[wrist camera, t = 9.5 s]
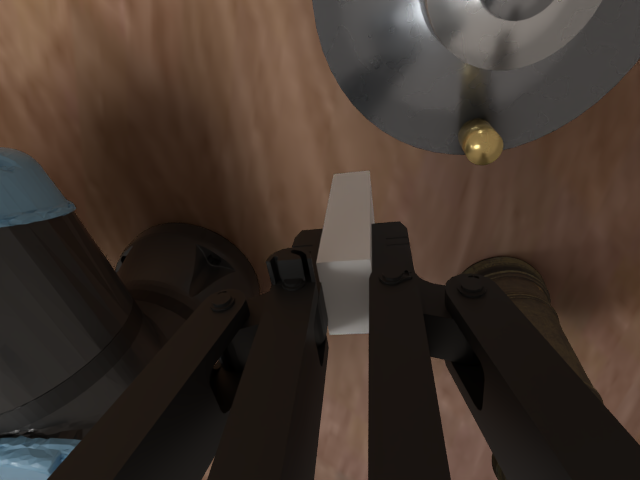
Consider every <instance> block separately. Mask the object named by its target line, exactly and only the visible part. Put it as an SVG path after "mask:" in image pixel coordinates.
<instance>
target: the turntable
mask: <svg viewBox="0 0 640 480" xmlns="http://www.w3.org/2000/svg"><path fill="white" fill-rule="evenodd" d="M312 1H313V9H314V16H315V22H316V28H317V32H318V35H319V39H320V43H321V46H322V50H323V52H324V55H325V57H326V60H327V62H328V64H329V67H330V69H331V72H332V73H333V75H334V77H335V79H336V80H337V82H338V84H339V86H340V87H341V89H342V90H343V92H344V93H345V94H346V96H347V97H348V98H349V100H350V101H351V102H352V104H353V105H354V106H355V107H356V108H357V109H358V110H359V111H360V112H361V113H362V114H363V115H364V116H365V117H366V118H367V119H368V120H369V121H370V122H372V123H373V124H374V125H376V126H377V127H378V128H379V129H381V130H382V131H384V132H385V133H387V134H389V135H390V136H392V137H394V138H396V139H397V140H399V141H402V142H404V143H407V144H409V145H412V146H414V147H417V148H421V149H424V150H428V151H432V152H437V153H445V154H453V155H466V156H467V158H468V160H469V161H470V162H472V163H473V164H476V165H487V164H490V163H492V162H494V161H495V160H496V159H497V158H498V157H499V156H500V154H501V153H502V150H505V149H509V148H513V147H517V146H519V145H522V144H525V143H528V142H531V141H533V140H536V139H538V138H540V137H542V136H544V135H546V134H549V133H551V132H553V131H555V130H557V129H558V128H560V127H562V126H563V125H565V124H567V123H568V122H570V121H572V120H573V119H575V118H577V117H578V116H579V115H581V114H582V113H583V112H585V111H586V110H587V109H589V108H590V107H591V106H593V105H594V104H595V103H597V102H598V101H599V100H600V99H601V98H602V97H603V96H604V95H605V94H607V93H608V92H609V91H610V90H611V89H612V88H613V87H614V86H615V85H616V84H617V83H618V82H619V81H620V80H621V79H622V78H623V77H624V76H625V75H626V74H627V72H628V71H629V70H630V69H631V68H632V67H633V66H634V65H635V64H636V62H637V61H638V60H639V58H640V0H602V2H601V3H600V5H599V7H598V8H597V10H596V12H595V13H594V15H593V16H592V17H591V18H590V20H589V21H588V22H587V24H586V25H585V26H584V27H583V28H582V29H581V30H580V32H579V33H578V34H577V35H576V36H575V37H574V38H573V39H571V40H570V41H569V42H568V43H567V44H566V45H564V46H563V47H562V48H560V49H559V50H558V51H556V52H555V53H553V54H551V55H550V56H548V57H546V58H545V59H543V60H540V61H538V62H536V63H534V64H531V65H528V66H525V67H522V68H517V69H512V70H499V71H497V70H487V69H482V68H478V67H475V66H472V65H470V64H467V63H466V62H464V61H462V60H460V59H459V58H458V57H456V56H455V55H454V54H453V53H451V52H450V51H449V50H448V49H446V48H445V47H444V46H443V45H442V44H440V43H439V42H438V41H437V40H436V38H435V37H434V36H433V35H432V33H431V32H430V30H429V29H428V27H427V25H426V23H425V21H424V18H423V15H422V12H421V8H420V3H419V0H312Z"/></svg>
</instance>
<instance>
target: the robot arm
mask: <svg viewBox="0 0 640 480" xmlns="http://www.w3.org/2000/svg"><path fill="white" fill-rule="evenodd" d="M75 209H76V207H75V205H74V204H73V203H72V202H71V201H69V200H66V199H65V197H64V196H63V195H62V193H61V192H60V191H59V189H58V188H57V187H56V185H55V184H54V183H53V181H52V180H51V179H50V178H49V176H48V175H47V174H46V172H45V171H44V170H43V168H42V167H41V166H40V164H39V163H38V162H37V161H36V160H35V159H33V158H32V157H31V156H29V155H28V154H26V153H24V152H21V151H19V150H16V149H11V148H4V147H0V480H201V479H202V478H203V476H204V474H205V472H206V471H207V469H208V467H209V465H210V464H211V462H212V460H213V458H214V457H215V458H214V461H213V464H212V467H211V470H210V473H209V476H208V479H207V480H314V474H315V465H316V456H317V447H318V438H319V429H320V420H321V411H322V402H323V393H324V384H325V375H326V366H327V357H328V348H329V347H328V341H327V336H326V333H327V325H328V329H329V334H330V335H339V334H366V333H369V428H368V480H451V478H450V472H449V466H448V460H447V454H446V448H445V442H444V436H443V430H442V424H441V418H440V412H439V406H438V400H437V394H436V388H435V382H434V376H433V370H432V364H431V358H430V356H431V357H435V358H439V359H444V360H445V363H446V366H447V368H448V370H449V372H450V374H451V376H452V378H453V379H454V381H455V383H456V385H457V387H458V389H459V391H460V393H461V394H462V396H463V398H464V400H465V402H466V404H467V406H468V408H469V409H470V411H471V413H472V415H473V417H474V419H475V421H476V423H477V424H478V426H479V428H480V430H481V432H482V434H483V436H484V438H485V439H486V441H487V443H488V445H489V447H490V449H491V451H492V453H493V454H494V456H495V458H496V460H497V462H498V464H499V466H500V468H501V469H502V471H503V473H504V475H505V477H506V479H507V480H640V445H639V444H638V443H637V442H636V441H635V439H634V438H633V437H632V436H631V435H630V434H629V433H628V432H627V430H626V429H625V428H624V427H623V426H622V425H621V424H620V423H619V421H618V420H617V419H616V418H615V417H614V416H613V415H612V413H611V412H610V411H609V410H608V409H607V408H606V407H605V406H604V404H603V403H602V402H601V401H600V400H599V399H598V398H597V397H596V395H595V394H594V393H593V392H592V391H591V390H590V389H589V388H588V386H587V385H586V384H585V383H584V382H583V381H582V380H581V378H580V377H579V376H578V375H577V374H576V373H575V372H574V371H573V369H572V368H571V367H570V366H569V365H568V364H567V363H566V362H565V360H564V359H563V358H562V357H561V356H560V355H559V354H558V352H557V351H556V350H555V349H554V348H553V347H552V346H551V345H550V343H549V342H548V341H547V340H546V339H545V338H544V337H543V336H542V334H541V333H540V332H539V331H538V330H537V329H536V328H535V326H534V325H533V324H532V323H531V322H530V321H529V320H528V319H527V317H526V316H525V315H524V314H523V313H522V312H521V311H520V310H519V308H518V307H517V306H516V305H515V304H514V303H513V302H512V301H511V299H510V298H509V297H508V296H507V295H506V294H505V293H504V291H503V290H502V289H501V288H500V287H499V286H498V285H497V284H496V283H495V282H494V281H493V280H491V279H490V278H488V277H485V276H482V275H478V274H471V273H470V274H460V275H457V276H454V277H452V278H451V279H450V280H448V281H447V283H446V286H445V285H438V284H433V283H429V282H427V281H424V280H423V279H421V278H420V277H418V276H417V274H416V273H415V271H414V268H413V262H412V256H411V250H410V244H409V238H408V232H407V228H406V227H405V226H404V225H403V224H402V223H401V222H387V223H375V222H374V211H373V201H372V190H371V179H370V170H369V171H359V172H350V173H340V174H334V175H333V180H332V185H331V190H330V195H329V200H328V206H327V211H326V216H325V221H324V226H323V229H314V230H302V231H301V232H300V233H299V234H298V235H297V236H296V237H295V239H294V242H293V245H292V248H287V249H282V250H280V251H277V252H275V253H274V254H272V255H271V256H270V257H269V258H268V259H267V261H266V264H267V268H268V272H269V275H270V279H271V283H272V286H271V289H270V291H269V292H267V293H265V294H262V295H259V285H258V280H257V277H256V274H255V272H254V270H253V268H252V266H251V264H250V263H249V261H248V260H247V259H246V257H245V256H244V255H243V254H242V253H241V252H240V251H239V250H238V249H237V248H236V247H235V246H234V245H233V244H232V243H230V242H229V241H228V240H226V239H225V238H223V237H221V236H220V235H218V234H216V233H214V232H212V231H210V230H207V229H205V228H201V227H198V226H194V225H190V224H182V223H169V224H162V225H157V226H154V227H152V228H149V229H147V230H145V231H144V232H142V233H141V234H140V235H139V236H137V237H136V238H135V240H134V241H133V242H132V243H131V244H130V245H129V246H128V247H127V248H126V249H125V250H124V252H123V253H122V255H121V256H120V258H119V260H118V263H117V266H116V270H114V269H113V268H112V266H111V265H110V263H109V262H108V260H107V259H106V257H105V256H104V254H103V253H102V252H101V250H100V249H99V247H98V246H97V244H96V243H95V241H94V240H93V238H92V237H91V236H90V234H89V233H88V231H87V230H86V228H85V227H84V225H83V224H82V223H81V221H80V220H79V218H78V217H77V215H76V214H75V212H74V210H75ZM218 359H219V360H218ZM217 361H218V362H217ZM216 362H217V363H216ZM215 364H216V365H215Z"/></svg>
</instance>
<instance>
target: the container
mask: <svg viewBox="0 0 640 480" xmlns="http://www.w3.org/2000/svg"><path fill="white" fill-rule="evenodd" d="M470 273H471V274H478V275H482V276H485V277H488V278H490V279H491V280H493V281H494V282H495V283H496V284H497V285H498V286H499V287H500V288H501V289H502V290H503V291H504V293H505V294H506V295H507V296H508V297H509V298H510V299H511V301H512V302H513V303H514V304H515V305H516V306H517V307H518V308H519V310H520V311H521V312H522V313H523V314H524V315H525V316H526V317H527V319H528V320H529V321H530V322H531V323H532V324H533V325H534V326H535V328H536V329H537V330H538V331H539V332H540V333H541V334H542V336H543V337H544V338H545V339H546V340H547V341H548V342H549V343H550V345H551V346H552V347H553V348H554V349H555V350H556V351H557V352H558V354H559V355H560V356H561V357H562V358H563V359H564V360H565V362H566V363H567V364H568V365H569V366H570V367H571V368H572V369H573V371H574V372H575V373H576V374H577V375H578V376H579V377H580V378H581V380H582V381H583V382H584V383H585V384H586V385H587V386H588V388H589V389H590V390H591V391H592V392H593V393H594V394H595V395H596V397H597V398H598V399H599V400H600V401H601V402H602V403H603V400H602V398H601V396H600V394H599V393H598V392H597V390H596V389H595V388H593V386H592V384H591V382H590V380H589V378H588V377H587V375H586V373H585V371H584V369H583V367H582V366H581V364H580V362H579V360H578V358H577V356H576V354H575V352H574V351H573V349H572V347H571V345H570V343H569V341H568V340H567V338H566V336H565V334H564V332H563V330H562V328H561V326H560V324H559V319H558V316H557V313H556V312H555V310H554V309H553V307H552V306H551V305H550V295H549V293H548V290H547V288H546V287H545V283H544V281H543V279H542V277H541V275H540V274H539V273H538V272H537V271H536V270H535V269H534V268H533V267H532V266H530V265H529V264H527V263H526V262H524V261H522V260H519V259H516V258H511V257H496V258H491V259H487V260H483V261H481V262H478V263H476V264H474V265H473V266H471V267H469V268H468V269H467V270H465V271H464V272H463V273H462V274H470ZM492 467H493V470H494V473H495V475H496V477H497V479H498V480H507V479H506V477H505V475H504V473H503V471H502V469H501V468H500V466H499V464H498V462H497V460H496V458H495V456H494V454H492Z"/></svg>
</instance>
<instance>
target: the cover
mask: <svg viewBox="0 0 640 480" xmlns="http://www.w3.org/2000/svg"><path fill="white" fill-rule="evenodd" d="M601 2H602V0H419V3H420V8H421V12H422V15H423V18H424V21H425V23H426V25H427V27H428V29H429V30H430V32H431V33H432V35H433V36H434V37H435V38H436V40H437V41H438V42H439V43H440V44H442V45H443V46H444V47H445V48H446V49H448V50H449V51H450V52H451V53H453V54H454V55H455V56H456V57H458V58H459V59H460V60H462V61H464V62H466V63H467V64H470V65H472V66H475V67H478V68H482V69H487V70H497V71H499V70H512V69H517V68H522V67H525V66H528V65H531V64H534V63H536V62H538V61H540V60H543V59H545V58H546V57H548V56H550V55H551V54H553V53H555V52H556V51H558V50H559V49H560V48H562V47H563V46H564V45H566V44H567V43H568V42H569V41H570V40H571V39H573V38H574V37H575V36H576V35H577V34H578V33H579V32H580V30H581V29H582V28H583V27H584V26H585V25H586V24H587V22H588V21H589V20H590V18H591V17H592V16H593V15H594V13H595V12H596V10H597V8H598V7H599V5H600V3H601Z"/></svg>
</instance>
